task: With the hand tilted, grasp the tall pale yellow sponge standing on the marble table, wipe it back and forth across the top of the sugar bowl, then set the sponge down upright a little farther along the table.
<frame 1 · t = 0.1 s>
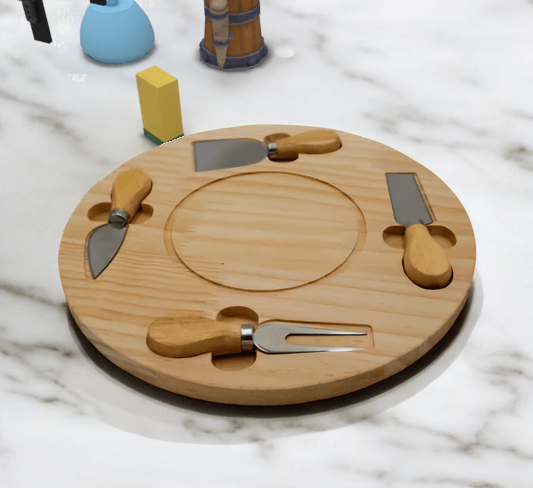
hand: (72, 21, 99), 21 cm above the worktop, tool pointing down, fingers open, 13 cm apart
sugar bowl: (119, 49, 135), on the worktop
mug: (231, 60, 132), on the worktop
sponge: (164, 138, 113), on the worktop
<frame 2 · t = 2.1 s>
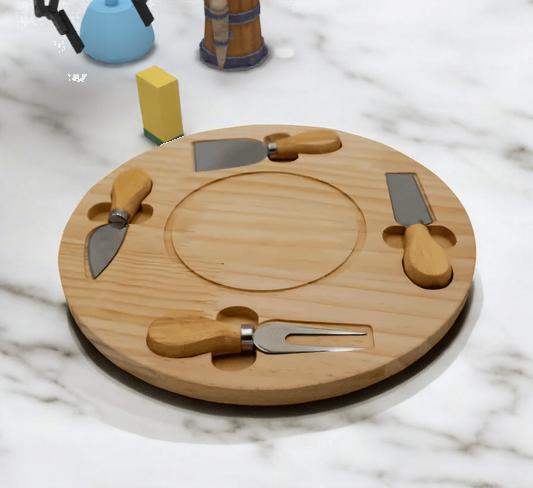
hand: (116, 36, 108), 15 cm above the worktop, tool tilted 45°, fingers open, 13 cm apart
nothing on the worktop moved.
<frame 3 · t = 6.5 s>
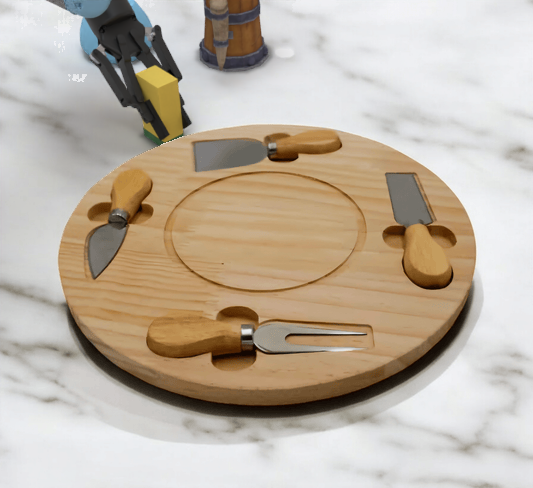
hand: (176, 131, 109), 3 cm above the worktop, tool tilted 45°, fingers closed on sponge, 4 cm apart
sponge: (164, 138, 113), on the worktop, touching gripper
everything else where it was.
when the fingers open (3 cm above the worktop, at t = 28.2 s): sponge stays where it is, on the worktop.
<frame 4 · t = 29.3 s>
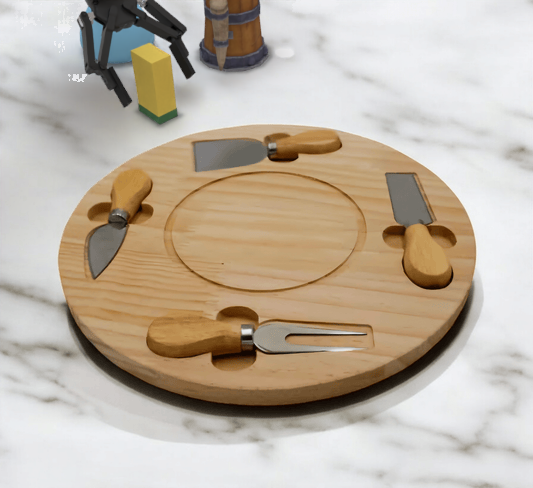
hand: (160, 90, 113), 6 cm above the worktop, tool tilted 45°, fingers open, 13 cm apart
sponge: (158, 113, 118), on the worktop
everything else where it was.
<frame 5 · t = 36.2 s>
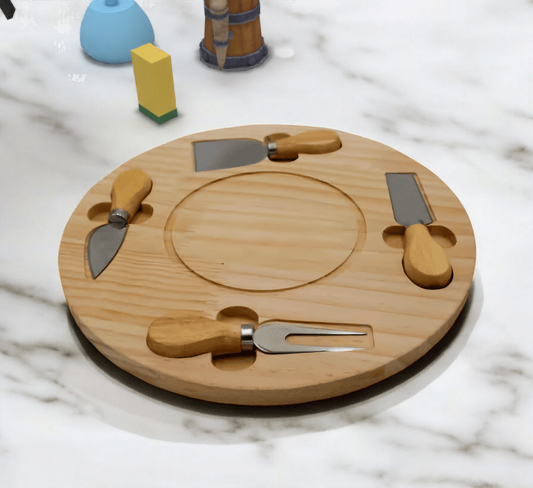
nothing on the worktop moved.
at the end: sponge inside the target area (0.1 cm from its centre), on the worktop; sponge tilted 0°; sugar bowl moved 0.2 cm from its start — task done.
